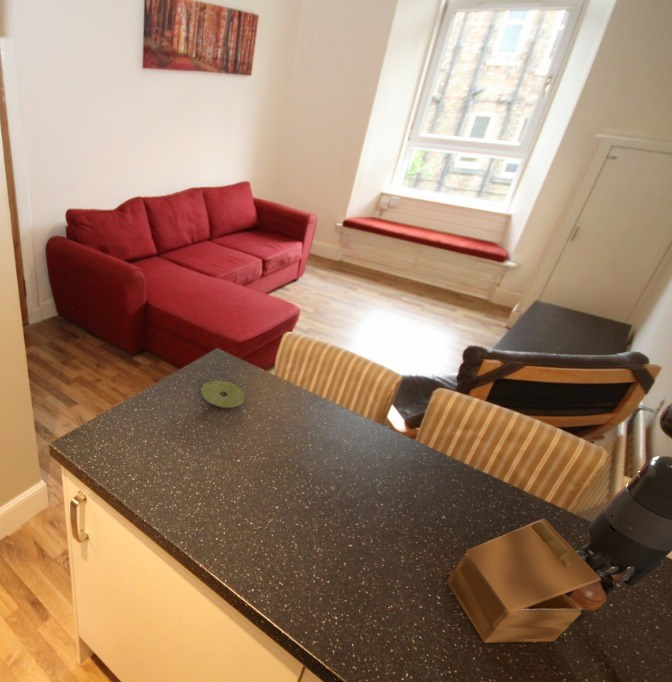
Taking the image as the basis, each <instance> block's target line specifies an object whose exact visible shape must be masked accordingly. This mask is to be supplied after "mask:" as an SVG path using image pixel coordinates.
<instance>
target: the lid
mask: <svg viewBox="0 0 672 682" xmlns="http://www.w3.org/2000/svg"><path fill="white" fill-rule="evenodd" d="M576 551H577V550H575V549H574V548H573V547H572V546H571V545H570V544H569V543H568V541H566V540H565V538H564V537H563V536H562V535H561V534H560V533H559V532H558V531H557V530H556V529H555V528H554V527H553V526H552V525H551V524H550V522H549V521H548V520H547V519H546V518H542V519H539V520H536V521H534V522H532V523H529V524H527V525H524V526H523V527H520V528H517V529H514V530H513V531H510V532H508V533H505V534H502V535H501V536H497V537H496V538H493V539H491V540H488V541H486V542H484V543H482V544H481V543H480V544H479V545H476V546H474V547H472V548H469V549H467V550H465V552H466V553H465V554H468V555H469V557H470V558H471V560H472V561H473V562H474V564H475V565H476V567H477V568H478V570H479V571H480V572H481V574H482V575H483V577H484V578H485V579H486V581H487V582H488V584H489V585H490V586H491V588H492V589H493V591H494V592H495V593H496V595H497V596H498V598H499V599H500V601H501V602H502V603H503V605H504V606H505V608H506V609H507V610H508V612H509V613H513V612H516V611H519V610H521V609H524V608H527V607H529V606H532V605H535V604H538V603H540V602H543V601H546V600H548V599H551V598H554V597H557V596H559V595H562V594H565V593H567V592H570V591H573V590H576V589H578V588H581V587H584V586H586V585H589V584H592V583H595V582H597V581H600V580H601V578H600V577H599V576H598V575H597V574H596V573H595V572H594V570H593V569H592V568H591V567H590V566H589V565H588V564H587V563H586V562H585V561H584V560H583V559H582V558H581V557H580V556H579V555H578V554H577V552H576Z"/></svg>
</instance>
